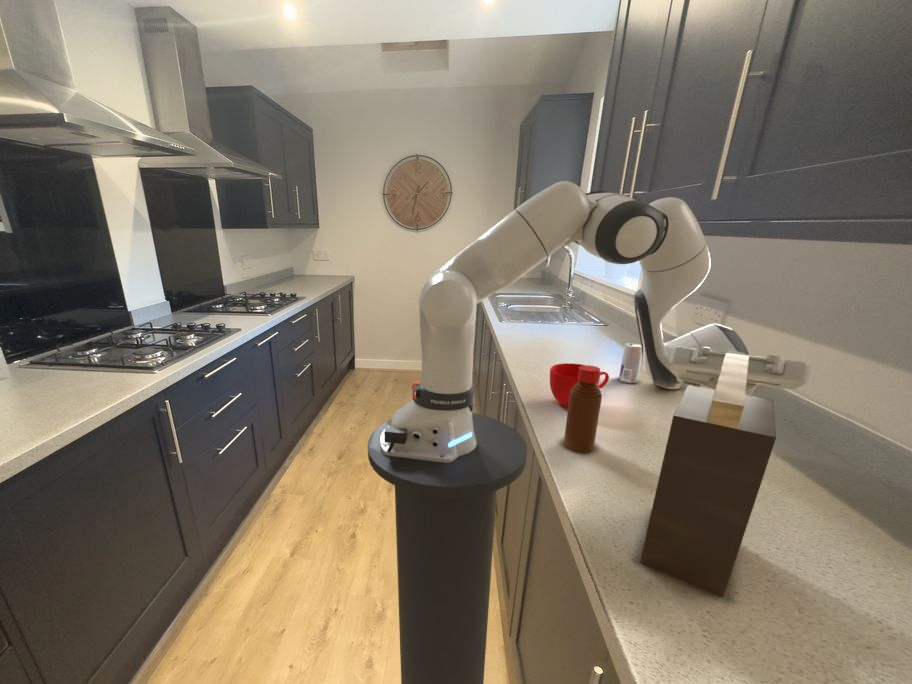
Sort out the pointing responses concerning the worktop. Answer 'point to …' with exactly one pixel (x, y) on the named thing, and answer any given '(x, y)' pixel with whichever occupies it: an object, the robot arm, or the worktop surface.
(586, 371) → the cap
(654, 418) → the worktop surface
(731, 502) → the pedestal
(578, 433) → the bottle
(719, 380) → the bar
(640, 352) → the energy drink
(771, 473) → the worktop surface
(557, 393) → the ceramic cup
